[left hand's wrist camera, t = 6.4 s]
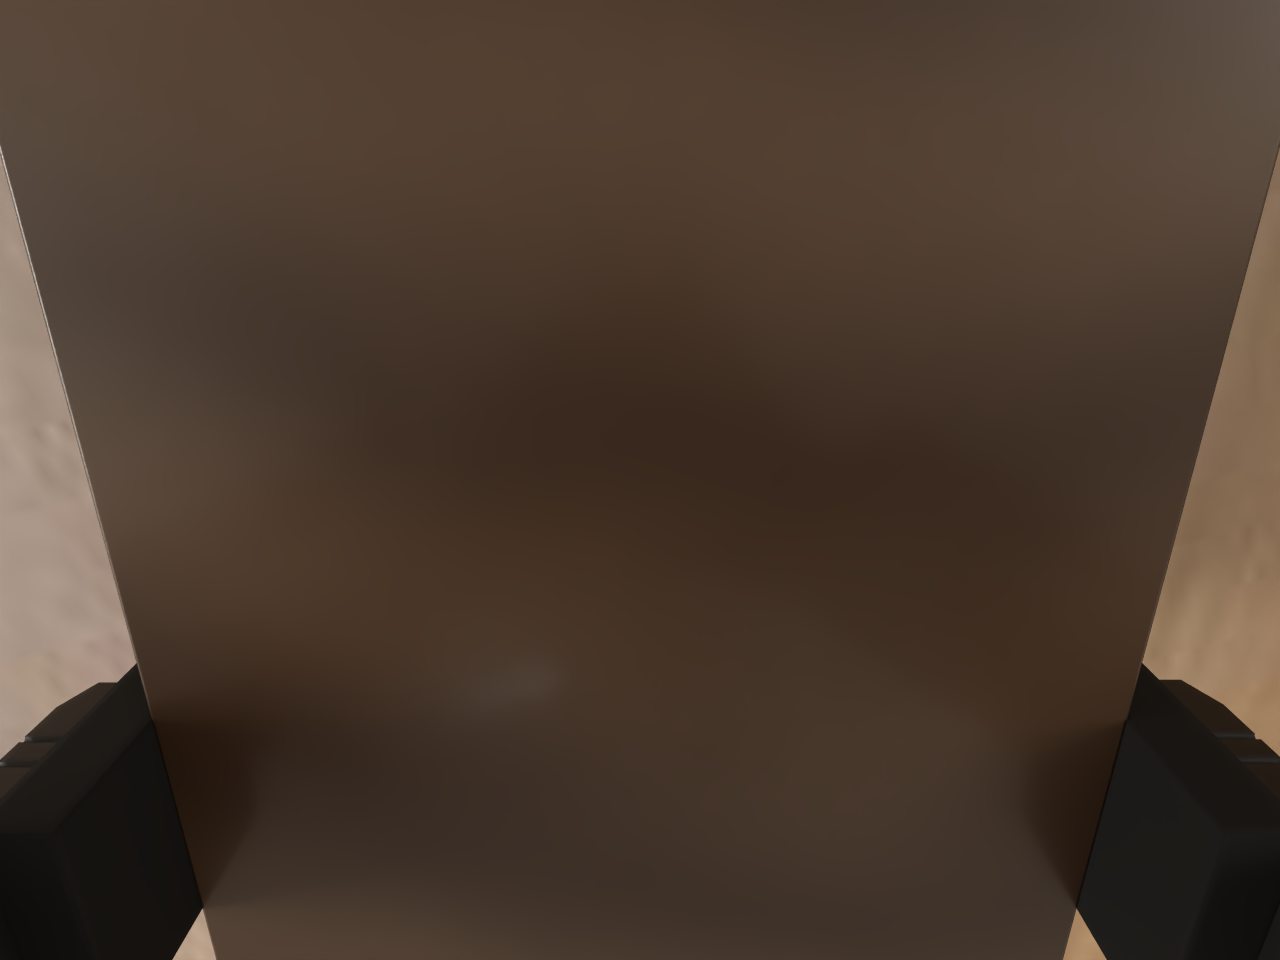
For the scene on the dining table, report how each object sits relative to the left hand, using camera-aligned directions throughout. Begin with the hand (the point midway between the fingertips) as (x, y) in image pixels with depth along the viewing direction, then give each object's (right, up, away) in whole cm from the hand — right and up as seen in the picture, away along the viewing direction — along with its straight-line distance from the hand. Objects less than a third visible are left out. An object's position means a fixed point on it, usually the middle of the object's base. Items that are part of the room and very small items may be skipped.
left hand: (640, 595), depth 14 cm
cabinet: (0, +7, +3) cm, 7 cm away
